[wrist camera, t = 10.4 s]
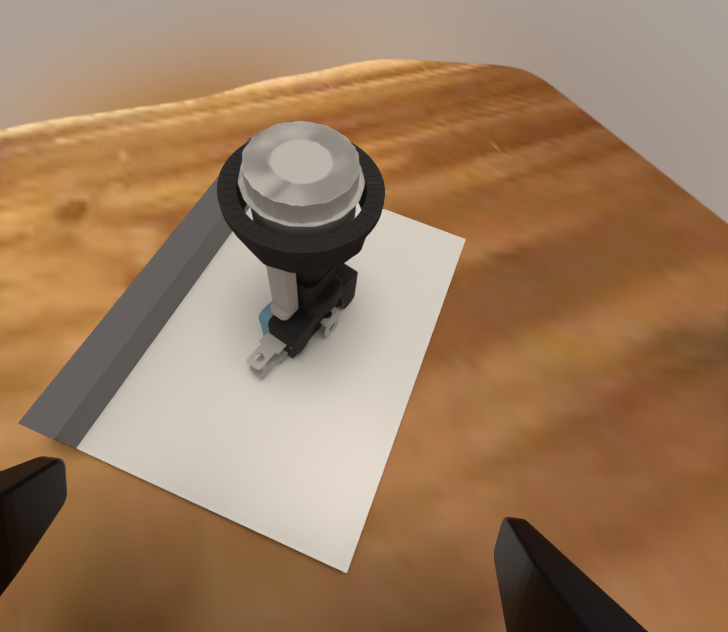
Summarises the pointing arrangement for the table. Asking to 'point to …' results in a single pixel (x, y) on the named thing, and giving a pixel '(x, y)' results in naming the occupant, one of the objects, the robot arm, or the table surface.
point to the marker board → (255, 381)
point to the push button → (301, 226)
